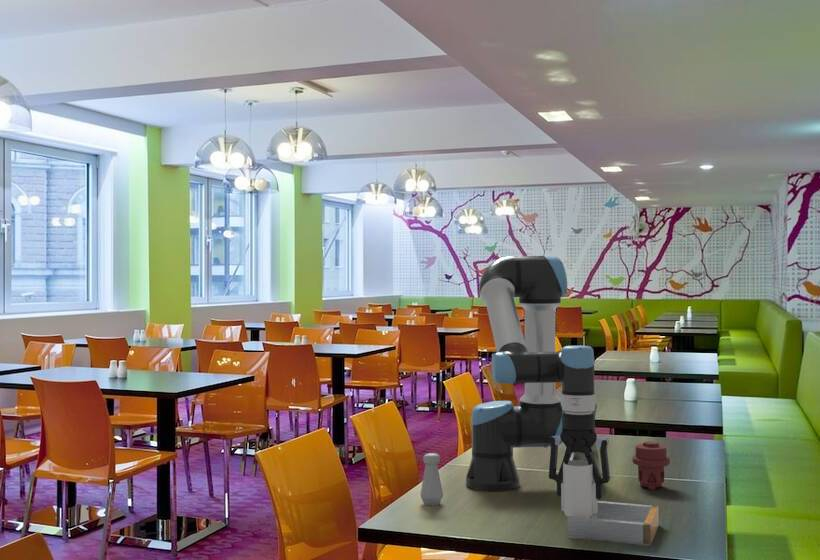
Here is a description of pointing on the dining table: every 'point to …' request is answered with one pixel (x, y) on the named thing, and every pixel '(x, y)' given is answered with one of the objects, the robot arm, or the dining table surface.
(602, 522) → the channel
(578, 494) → the mug
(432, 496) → the salt shaker
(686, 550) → the dining table surface
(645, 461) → the mechanical component
